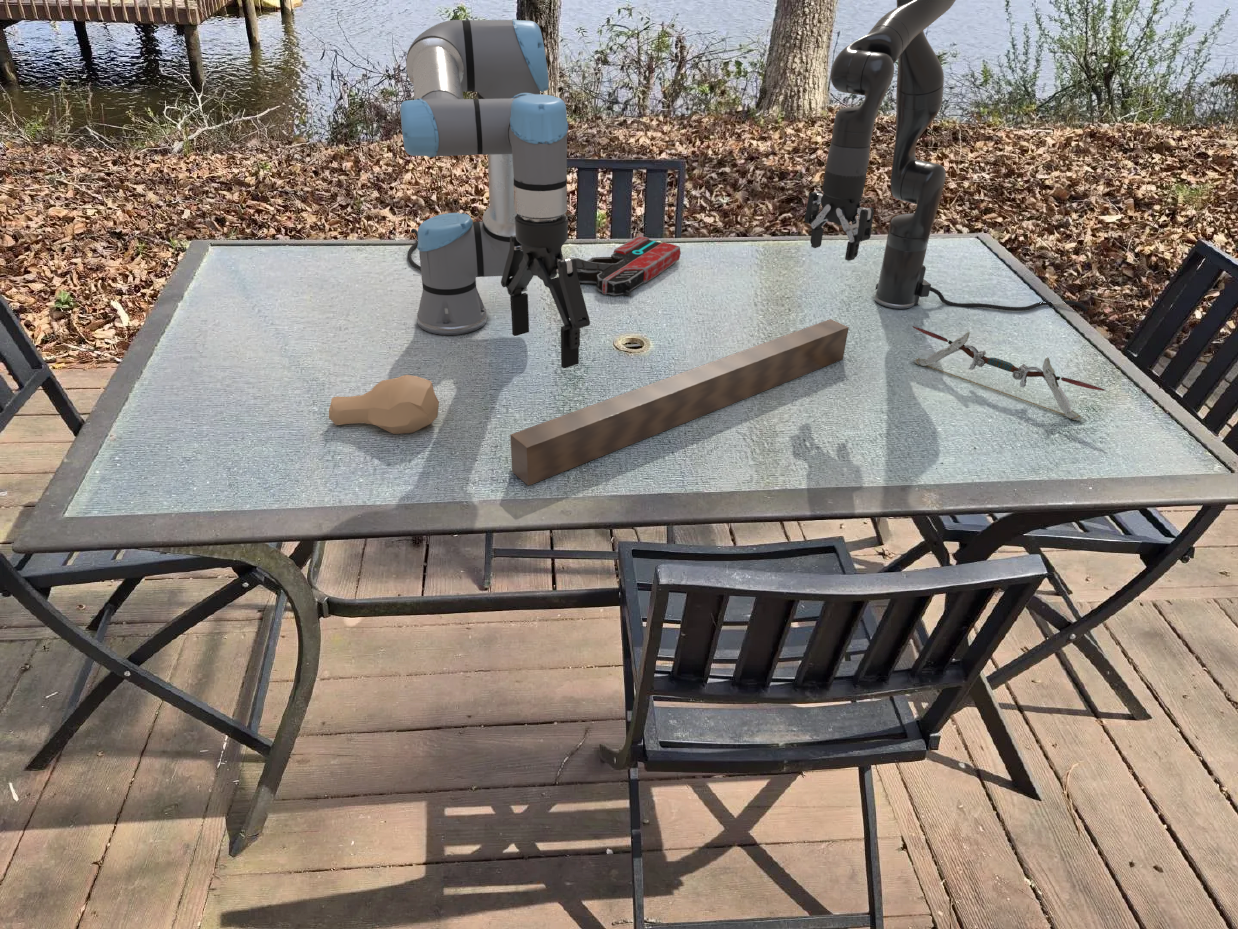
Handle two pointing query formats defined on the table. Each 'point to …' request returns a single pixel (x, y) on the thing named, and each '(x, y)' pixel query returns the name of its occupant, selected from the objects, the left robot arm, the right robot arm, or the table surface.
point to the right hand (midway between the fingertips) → (832, 253)
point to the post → (671, 401)
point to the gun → (628, 265)
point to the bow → (1018, 373)
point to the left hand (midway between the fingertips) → (544, 349)
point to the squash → (390, 405)
